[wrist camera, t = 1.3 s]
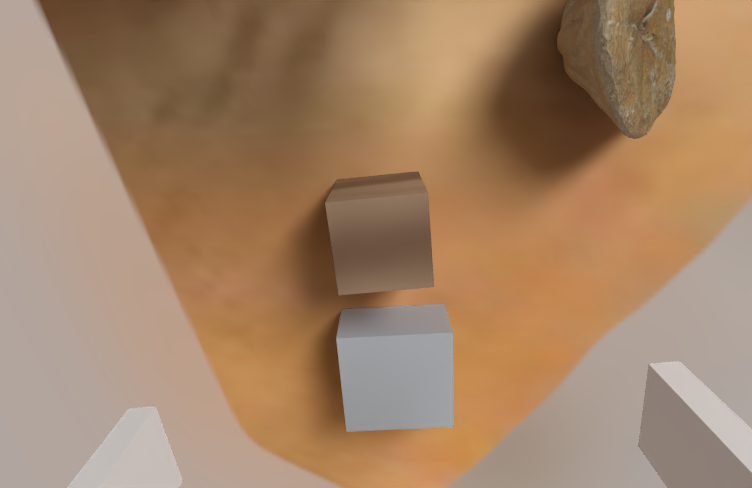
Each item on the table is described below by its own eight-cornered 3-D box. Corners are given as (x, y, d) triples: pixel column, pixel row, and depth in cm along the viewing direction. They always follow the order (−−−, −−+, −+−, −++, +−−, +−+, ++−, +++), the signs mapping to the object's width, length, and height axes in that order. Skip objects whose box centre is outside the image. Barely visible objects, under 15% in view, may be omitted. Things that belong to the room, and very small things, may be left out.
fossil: (640, 168, 20) (606, -69, 16) (551, 170, 24) (500, -25, 19) (692, 82, 25) (679, -126, 20) (611, 93, 28) (582, -83, 23)
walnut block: (337, 179, 27) (324, 202, 21) (418, 171, 26) (427, 192, 21) (347, 255, 28) (338, 295, 23) (423, 248, 28) (434, 287, 22)
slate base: (341, 307, 30) (336, 338, 26) (443, 302, 29) (452, 332, 26) (350, 392, 32) (346, 431, 28) (445, 387, 32) (453, 427, 28)
